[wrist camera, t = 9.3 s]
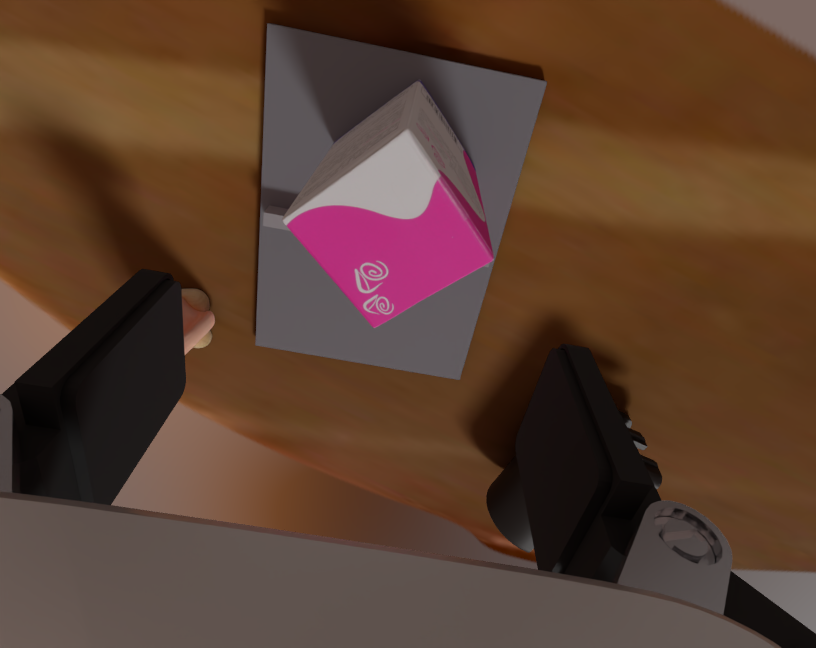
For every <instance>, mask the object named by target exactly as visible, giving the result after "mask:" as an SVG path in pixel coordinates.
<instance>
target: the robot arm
mask: <svg viewBox="0 0 816 648" xmlns="http://www.w3.org/2000/svg"><path fill="white" fill-rule="evenodd" d="M185 383H186V372H185V352H184V331H183V311H182V291H181V285H180V283H179V282H176V281H174V279H173V277H172V275H171V274H169V273H163V272H158V271H152V270H147V269H141V270H140V271H138V272H137V273H136V274H135V275H134V276H133V277H132V278H131V279H129V280H128V281H127V282H126V283H125V284H124V285H123V286H122V287H120V288H119V289H118V290H117V291H116V292H115V293H114V294H113V295H111V296H110V297H109V298H108V299H107V300H106V301H105V302H104V303H102V304H101V305H100V306H99V307H98V308H97V309H96V310H95V311H93V312H92V313H91V314H90V315H89V316H88V317H87V318H86V319H84V320H83V321H82V322H81V323H80V324H79V325H78V326H77V327H76V328H74V329H73V330H72V331H71V332H70V333H69V334H68V335H67V336H66V337H64V338H63V339H62V340H61V341H60V342H59V343H58V344H56V345H55V346H54V347H53V348H52V349H51V350H50V351H49V352H48V353H46V354H45V355H44V356H43V357H42V358H41V359H40V360H39V361H37V362H36V363H35V364H34V365H33V366H32V367H31V368H29V370H27V371H26V372H25V373H24V374H23V375H22V376H21V377H19V378H18V379H17V380H16V381H15V383H14V384H13V385H11V386H10V387H9V388H8V389H7V390H6V391H5V392H4V393H3V394H0V648H816V634H815V633H814V632H812V631H811V630H810V629H808V628H807V627H806V626H804V625H803V624H802V623H800V622H799V621H798V620H796V619H795V618H794V617H792V616H791V615H789V614H788V613H787V612H786V611H784V610H783V609H781V608H780V607H779V606H777V605H776V604H775V603H773V602H772V601H771V600H769V599H768V598H767V597H765V596H764V595H763V594H761V593H760V592H759V591H757V590H756V589H754V588H753V587H752V586H750V585H749V584H748V583H746V582H745V581H744V580H742V579H741V578H740V577H738V576H737V575H735V574H734V573H733V572H732V571H731V565H732V551H731V548H730V546H729V544H728V542H727V539H726V538H725V537H724V535H723V534H722V533H721V531H720V530H719V529H718V528H717V527H716V526H715V525H714V524H713V523H712V522H711V521H710V520H709V519H708V518H706V517H705V516H703V515H702V514H700V513H699V512H697V511H696V510H694V509H692V508H690V507H688V506H686V505H684V504H681V503H677V502H673V501H661V498H660V496H659V494H658V492H657V490H656V488H655V486H654V483H653V481H652V479H651V477H650V475H649V473H648V471H647V469H646V466H645V464H644V462H643V460H642V458H641V456H640V454H639V452H638V449H637V447H636V445H635V443H634V441H633V439H632V437H631V434H630V432H629V430H628V428H627V426H626V424H625V422H624V420H623V417H622V416H621V414H620V413H619V412H618V410H617V407H616V405H615V403H614V401H613V399H612V397H611V395H610V392H609V390H608V388H607V386H606V384H605V382H604V380H603V377H602V375H601V373H600V371H599V369H598V367H597V364H596V362H595V360H594V358H593V356H592V354H591V352H590V350H589V349H588V348H585V347H579V346H574V345H568V344H562V345H561V346H560V347H559V348H558V349H555V348H553V349H552V350H551V351H550V353H549V355H548V357H547V360H546V363H545V365H544V368H543V370H542V373H541V375H540V378H539V380H538V383H537V385H536V388H535V390H534V393H533V396H532V398H531V401H530V403H529V406H528V408H527V411H526V413H525V416H524V418H523V421H522V423H521V426H520V429H519V431H518V434H517V437H516V443H515V450H516V456H517V461H518V466H519V472H520V477H521V482H522V487H523V493H524V498H525V503H526V508H527V514H528V519H529V524H530V529H531V535H532V540H533V545H534V550H535V556H536V561H537V566H538V570H536V569H530V568H524V567H518V566H511V565H505V564H499V563H492V562H486V561H479V560H472V559H466V558H460V557H454V556H447V555H441V554H435V553H428V552H422V551H415V550H409V549H403V548H396V547H389V546H383V545H376V544H369V543H363V542H356V541H350V540H342V539H336V538H330V537H323V536H317V535H310V534H303V533H296V532H290V531H283V530H277V529H270V528H263V527H256V526H250V525H243V524H236V523H229V522H223V521H216V520H209V519H202V518H195V517H188V516H180V515H174V514H167V513H160V512H153V511H147V510H140V509H133V508H126V507H119V506H112V505H111V504H112V502H113V501H114V499H115V498H116V496H117V495H118V493H119V492H120V490H121V489H122V487H123V485H124V484H125V482H126V481H127V479H128V478H129V476H130V475H131V473H132V472H133V470H134V468H135V467H136V465H137V464H138V462H139V461H140V459H141V458H142V456H143V455H144V453H145V452H146V450H147V448H148V447H149V445H150V444H151V442H152V441H153V439H154V438H155V436H156V435H157V433H158V431H159V430H160V428H161V427H162V425H163V424H164V422H165V420H166V419H167V418H168V416H169V414H170V413H171V411H172V410H173V408H174V407H175V405H176V404H177V402H178V401H179V399H180V398H181V396H182V394H183V391H184V388H185Z"/></svg>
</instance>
